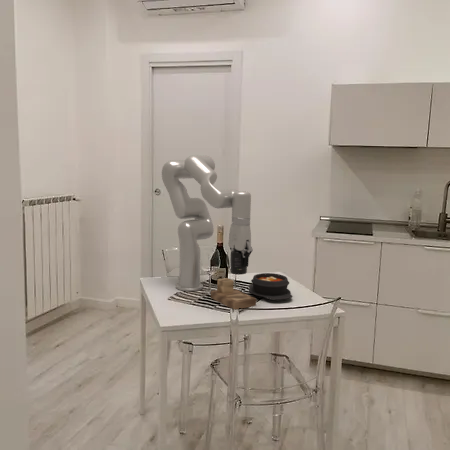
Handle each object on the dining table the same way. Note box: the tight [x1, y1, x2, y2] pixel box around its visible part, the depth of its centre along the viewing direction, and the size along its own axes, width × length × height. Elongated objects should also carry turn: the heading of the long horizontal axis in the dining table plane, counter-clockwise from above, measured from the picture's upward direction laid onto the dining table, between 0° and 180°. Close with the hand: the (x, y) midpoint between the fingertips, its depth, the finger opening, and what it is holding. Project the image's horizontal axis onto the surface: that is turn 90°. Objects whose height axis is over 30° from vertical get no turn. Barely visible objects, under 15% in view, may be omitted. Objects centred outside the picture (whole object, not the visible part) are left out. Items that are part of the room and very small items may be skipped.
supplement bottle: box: [229, 245, 248, 275], centre depth 192 cm, size 7×7×12 cm
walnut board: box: [210, 288, 257, 310], centre depth 198 cm, size 18×11×3 cm, turn 33°
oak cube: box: [216, 277, 235, 293], centre depth 203 cm, size 5×5×5 cm
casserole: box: [248, 272, 293, 301], centre depth 209 cm, size 25×19×8 cm
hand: (239, 264), depth 193 cm, fingers closed on supplement bottle, 6 cm apart
